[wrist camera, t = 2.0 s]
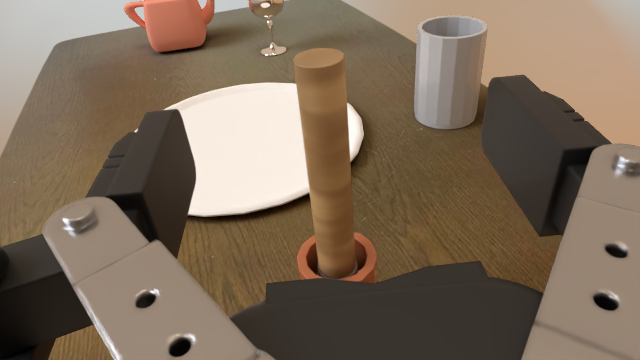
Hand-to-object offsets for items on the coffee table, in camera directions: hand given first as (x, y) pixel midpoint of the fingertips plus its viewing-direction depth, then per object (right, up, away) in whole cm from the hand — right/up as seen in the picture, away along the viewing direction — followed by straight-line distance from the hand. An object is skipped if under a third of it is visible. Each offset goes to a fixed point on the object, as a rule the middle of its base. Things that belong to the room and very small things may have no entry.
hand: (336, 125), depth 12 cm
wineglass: (-8, +21, +68) cm, 72 cm away
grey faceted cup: (+15, +7, +45) cm, 48 cm away
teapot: (-26, +24, +75) cm, 83 cm away
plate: (-10, +3, +44) cm, 45 cm away
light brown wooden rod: (+1, -12, +21) cm, 25 cm away
